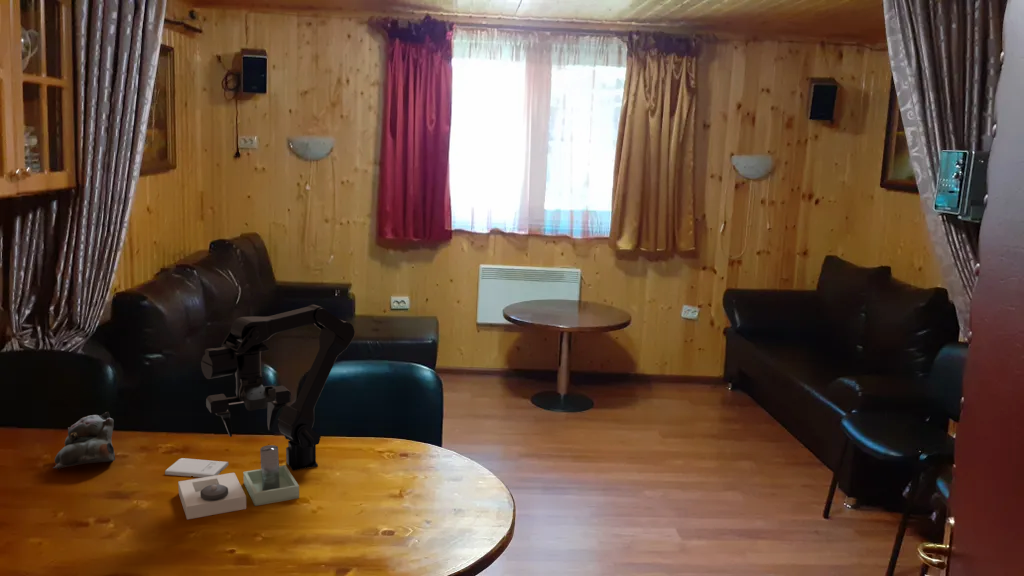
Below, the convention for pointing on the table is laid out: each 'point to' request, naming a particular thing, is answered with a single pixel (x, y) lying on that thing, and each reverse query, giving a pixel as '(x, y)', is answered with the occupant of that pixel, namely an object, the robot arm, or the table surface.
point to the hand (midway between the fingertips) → (250, 433)
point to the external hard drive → (196, 468)
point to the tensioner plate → (211, 506)
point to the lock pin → (270, 467)
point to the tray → (260, 497)
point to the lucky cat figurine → (88, 442)
